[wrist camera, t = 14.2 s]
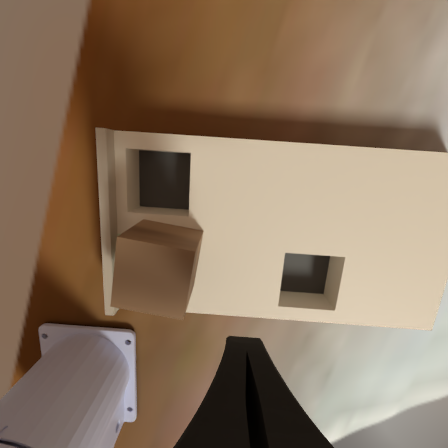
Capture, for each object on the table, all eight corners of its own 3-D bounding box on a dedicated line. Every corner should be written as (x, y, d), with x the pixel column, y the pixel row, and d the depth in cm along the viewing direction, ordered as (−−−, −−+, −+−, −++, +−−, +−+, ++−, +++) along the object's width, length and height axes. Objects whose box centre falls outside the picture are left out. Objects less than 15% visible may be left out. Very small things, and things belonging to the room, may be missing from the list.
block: (193, 285, 18) (183, 320, 14) (137, 274, 18) (110, 306, 14) (203, 230, 17) (195, 251, 13) (143, 219, 17) (116, 236, 13)
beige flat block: (407, 310, 20) (443, 340, 17) (125, 289, 21) (105, 314, 17) (449, 156, 18) (502, 154, 14) (121, 134, 18) (95, 127, 14)
